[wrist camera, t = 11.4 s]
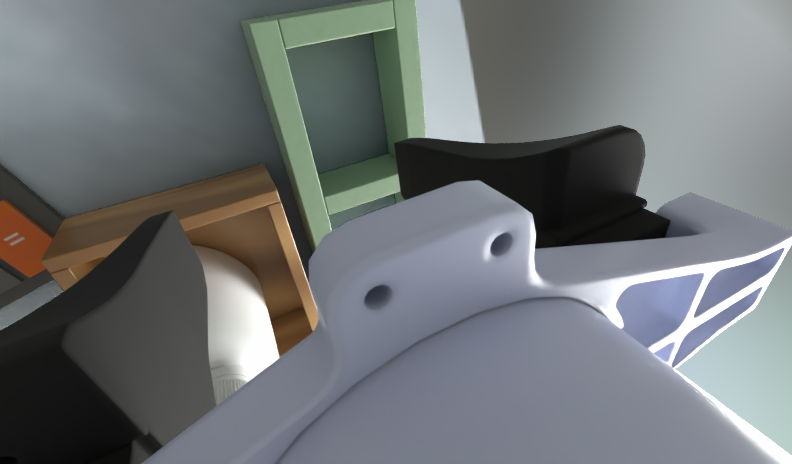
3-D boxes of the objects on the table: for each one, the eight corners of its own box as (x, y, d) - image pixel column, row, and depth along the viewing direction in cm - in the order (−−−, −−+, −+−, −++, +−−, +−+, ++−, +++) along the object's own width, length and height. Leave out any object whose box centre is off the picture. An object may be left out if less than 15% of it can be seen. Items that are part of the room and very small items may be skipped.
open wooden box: (312, 305, 28) (328, 342, 25) (168, 363, 25) (166, 414, 22) (264, 162, 22) (277, 189, 18) (63, 218, 19) (38, 261, 16)
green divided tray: (417, 262, 31) (438, 285, 28) (326, 299, 28) (339, 328, 26) (387, -4, 20) (415, -5, 18) (239, 20, 18) (248, 23, 15)
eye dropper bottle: (200, 321, 24) (208, 522, 15) (147, 255, 21) (116, 459, 11) (266, 290, 25) (313, 459, 16) (226, 223, 22) (256, 385, 12)
